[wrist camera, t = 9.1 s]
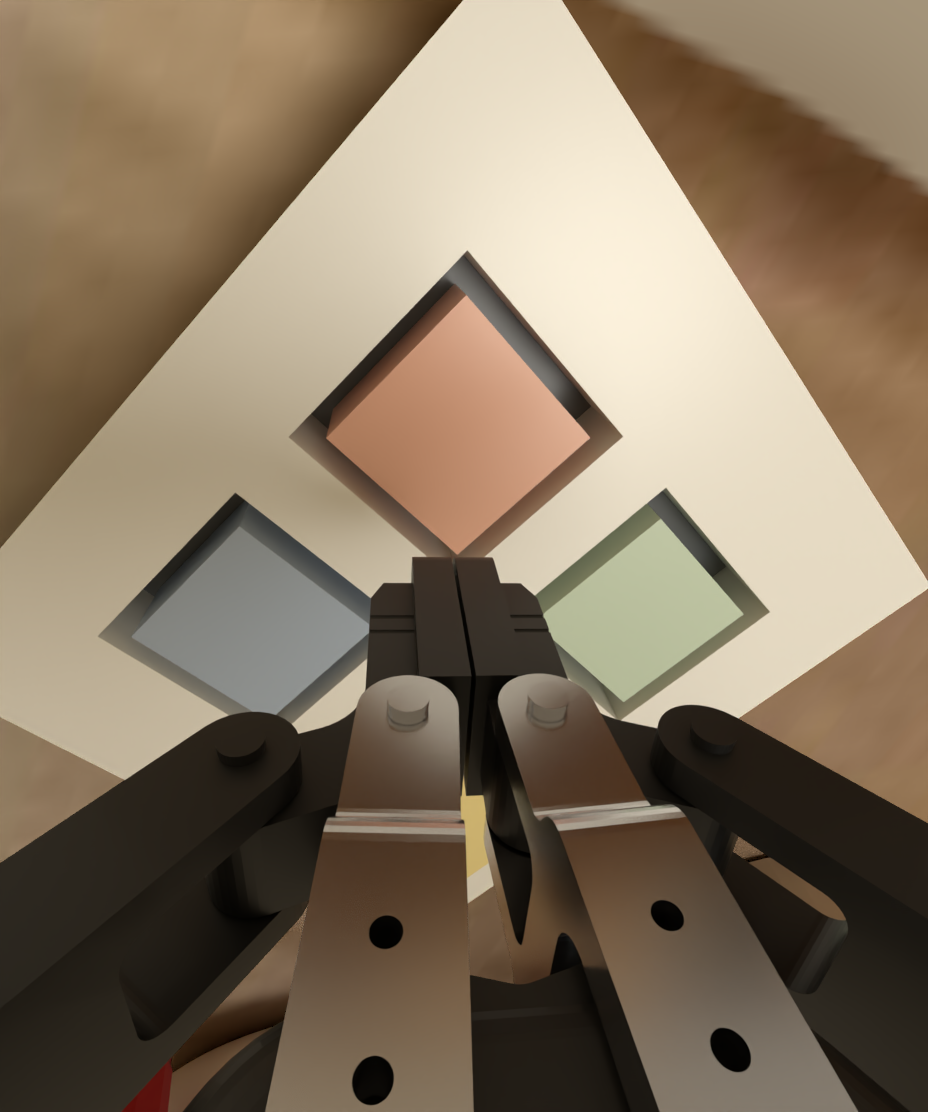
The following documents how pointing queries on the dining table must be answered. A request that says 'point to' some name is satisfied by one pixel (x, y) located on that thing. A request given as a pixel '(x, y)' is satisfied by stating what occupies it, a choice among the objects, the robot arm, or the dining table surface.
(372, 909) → the robot arm
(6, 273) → the dining table surface
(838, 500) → the keypad board
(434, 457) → the key terracotta
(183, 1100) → the bowl
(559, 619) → the key sage
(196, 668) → the key slate
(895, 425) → the dining table surface
